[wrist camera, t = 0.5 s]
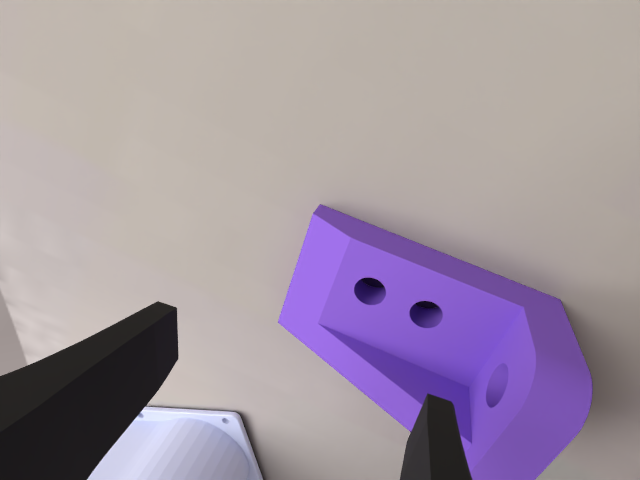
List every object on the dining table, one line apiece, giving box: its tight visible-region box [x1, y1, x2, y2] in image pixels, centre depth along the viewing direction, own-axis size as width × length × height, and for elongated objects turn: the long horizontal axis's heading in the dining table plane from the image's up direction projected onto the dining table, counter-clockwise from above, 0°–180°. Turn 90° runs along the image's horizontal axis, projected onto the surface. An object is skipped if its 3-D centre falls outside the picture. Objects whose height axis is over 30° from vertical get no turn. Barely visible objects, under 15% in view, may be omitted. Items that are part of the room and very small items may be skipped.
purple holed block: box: [278, 204, 593, 480], centre depth 20 cm, size 12×7×7 cm, turn 73°
